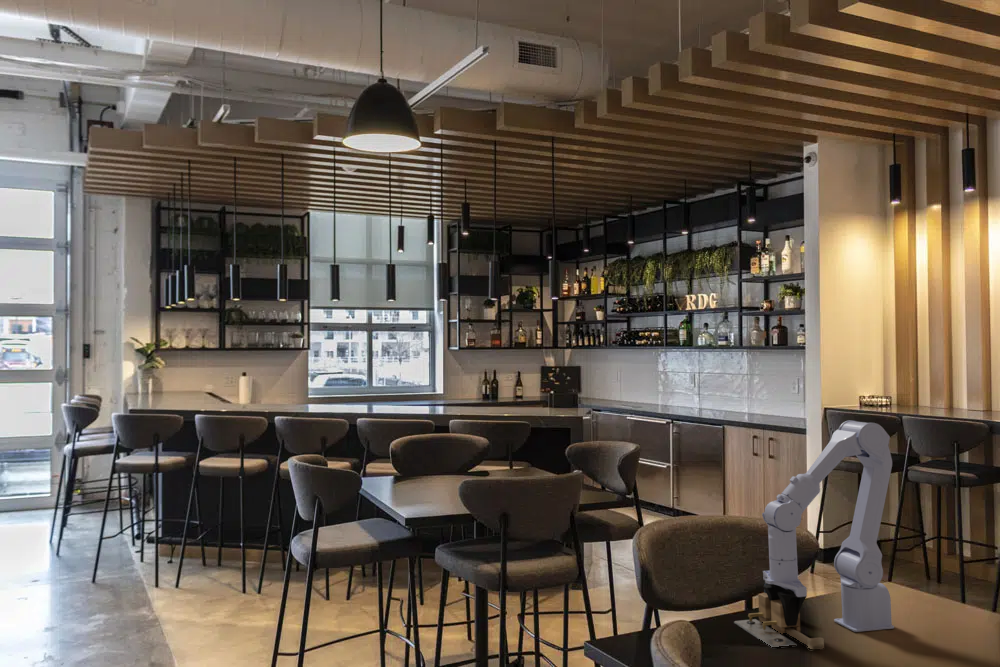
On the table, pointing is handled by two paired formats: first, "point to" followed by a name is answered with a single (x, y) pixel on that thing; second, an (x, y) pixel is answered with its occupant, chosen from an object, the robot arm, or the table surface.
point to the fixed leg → (762, 608)
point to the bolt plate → (764, 633)
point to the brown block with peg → (779, 618)
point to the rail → (805, 638)
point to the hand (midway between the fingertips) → (785, 622)
